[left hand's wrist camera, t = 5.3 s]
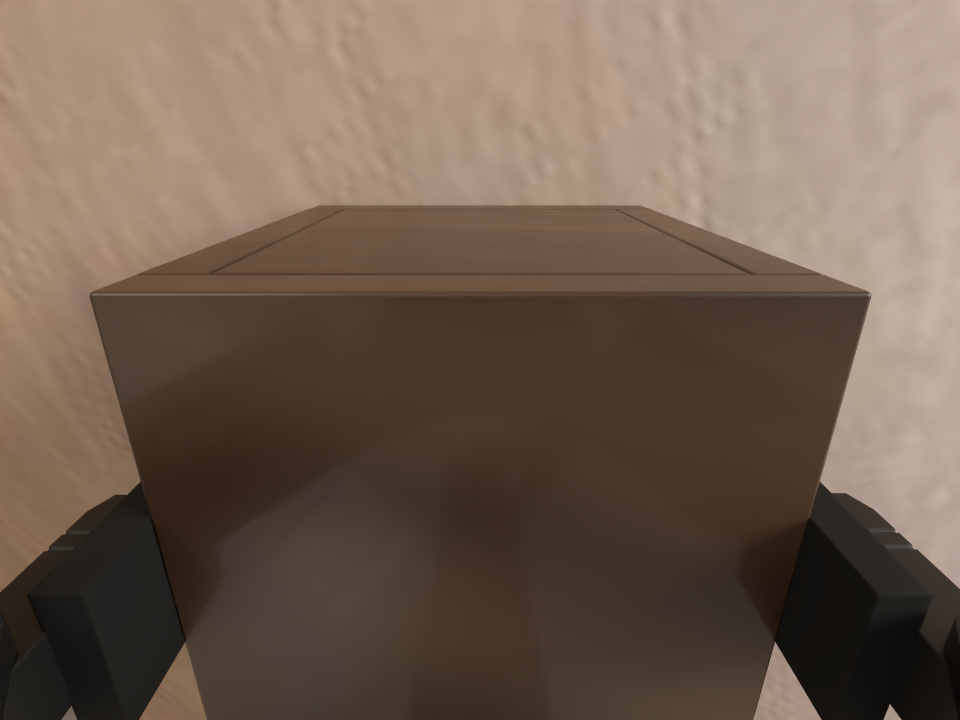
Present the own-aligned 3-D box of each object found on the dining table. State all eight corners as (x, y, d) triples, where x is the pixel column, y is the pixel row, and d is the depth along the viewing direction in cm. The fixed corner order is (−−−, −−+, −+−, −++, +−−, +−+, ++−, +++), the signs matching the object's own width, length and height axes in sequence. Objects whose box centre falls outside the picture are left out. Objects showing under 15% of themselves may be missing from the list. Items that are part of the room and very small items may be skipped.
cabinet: (592, 666, 25) (669, 1024, 15) (367, 667, 25) (290, 1025, 15) (642, 205, 18) (875, 292, 7) (317, 205, 17) (85, 292, 7)
